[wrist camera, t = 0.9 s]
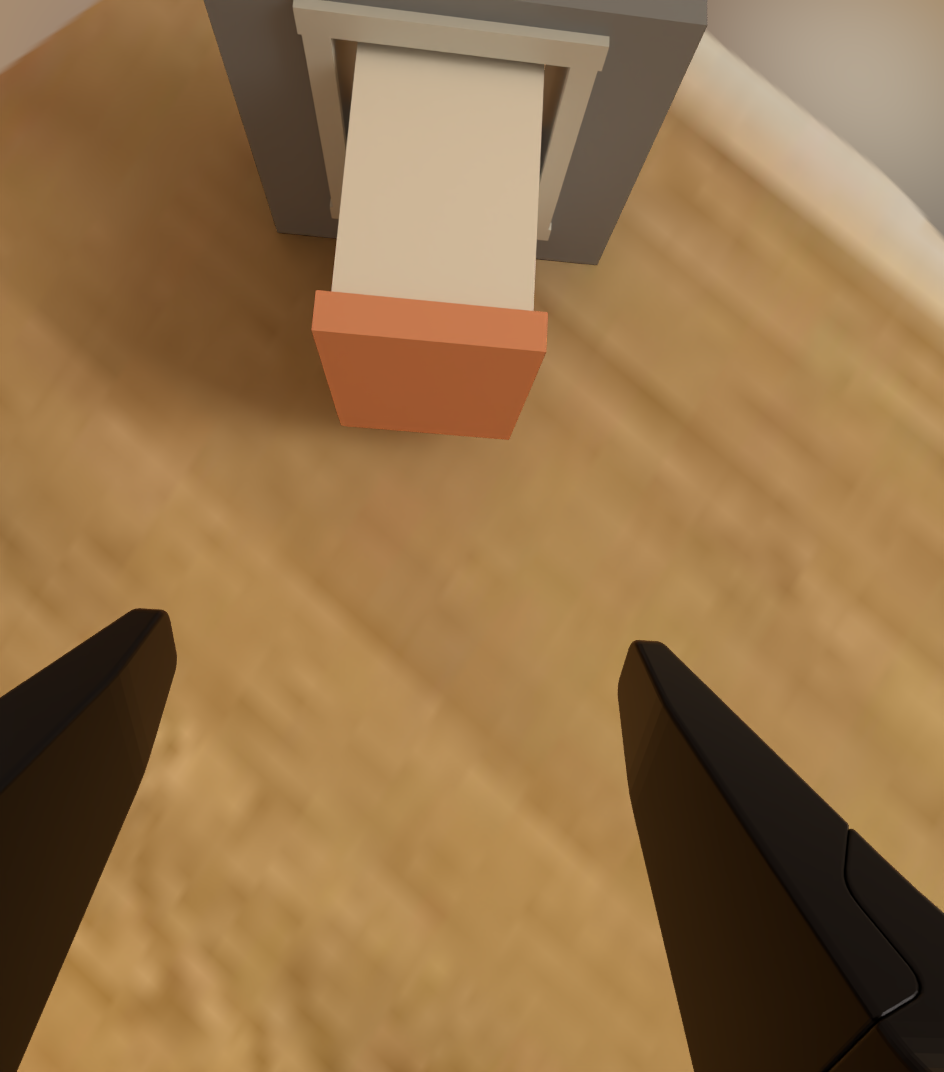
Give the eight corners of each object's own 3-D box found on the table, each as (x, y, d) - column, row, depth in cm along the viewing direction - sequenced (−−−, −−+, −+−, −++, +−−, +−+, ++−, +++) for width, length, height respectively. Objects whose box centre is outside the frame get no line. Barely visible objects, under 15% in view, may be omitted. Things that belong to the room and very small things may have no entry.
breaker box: (596, 272, 26) (707, 36, 16) (276, 239, 25) (188, -30, 15) (599, 172, 27) (706, -111, 17) (289, 137, 26) (213, -181, 16)
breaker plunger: (509, 439, 22) (546, 352, 16) (340, 425, 22) (311, 330, 16) (522, 168, 24) (560, -7, 18) (368, 150, 24) (351, -34, 17)
